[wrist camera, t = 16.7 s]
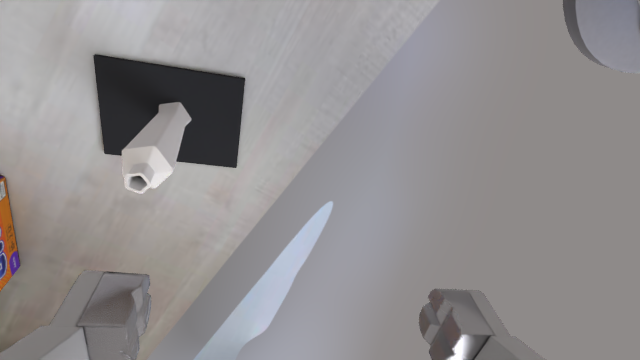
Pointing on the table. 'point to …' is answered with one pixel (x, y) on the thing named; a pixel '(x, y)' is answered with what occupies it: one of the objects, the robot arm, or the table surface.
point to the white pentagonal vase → (154, 149)
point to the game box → (6, 238)
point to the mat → (169, 87)
